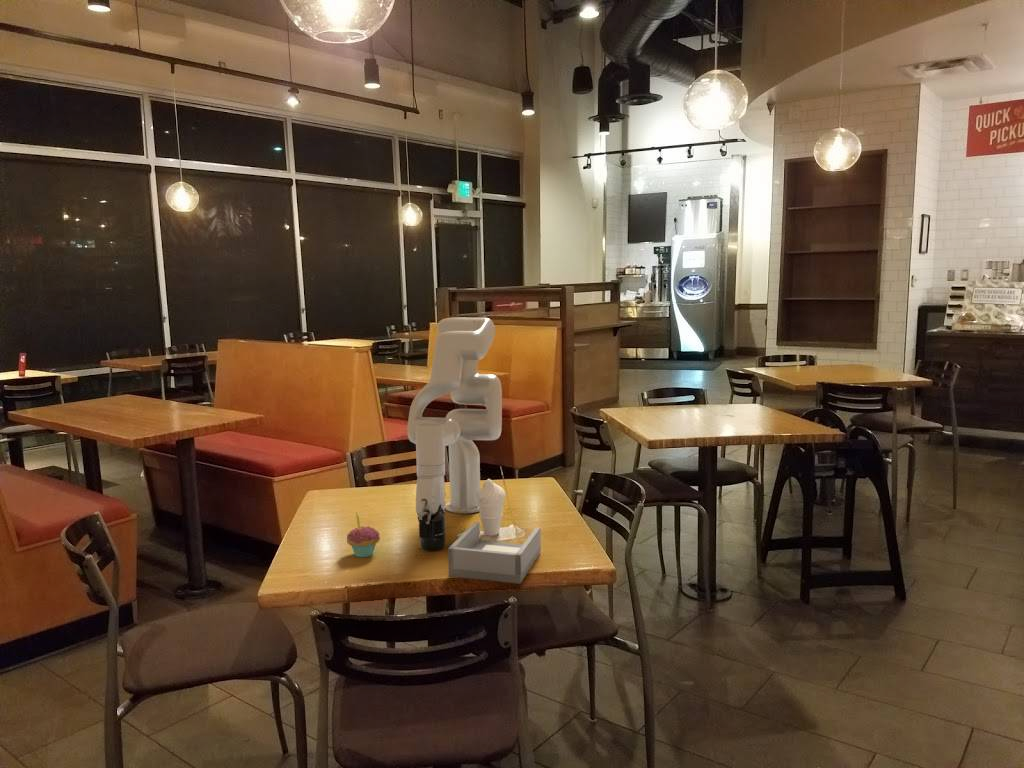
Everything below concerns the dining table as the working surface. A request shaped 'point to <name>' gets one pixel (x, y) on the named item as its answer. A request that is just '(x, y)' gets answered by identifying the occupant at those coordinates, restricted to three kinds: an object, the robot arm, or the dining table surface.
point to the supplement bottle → (435, 532)
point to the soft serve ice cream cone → (491, 507)
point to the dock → (492, 557)
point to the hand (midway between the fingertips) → (432, 531)
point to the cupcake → (363, 540)
